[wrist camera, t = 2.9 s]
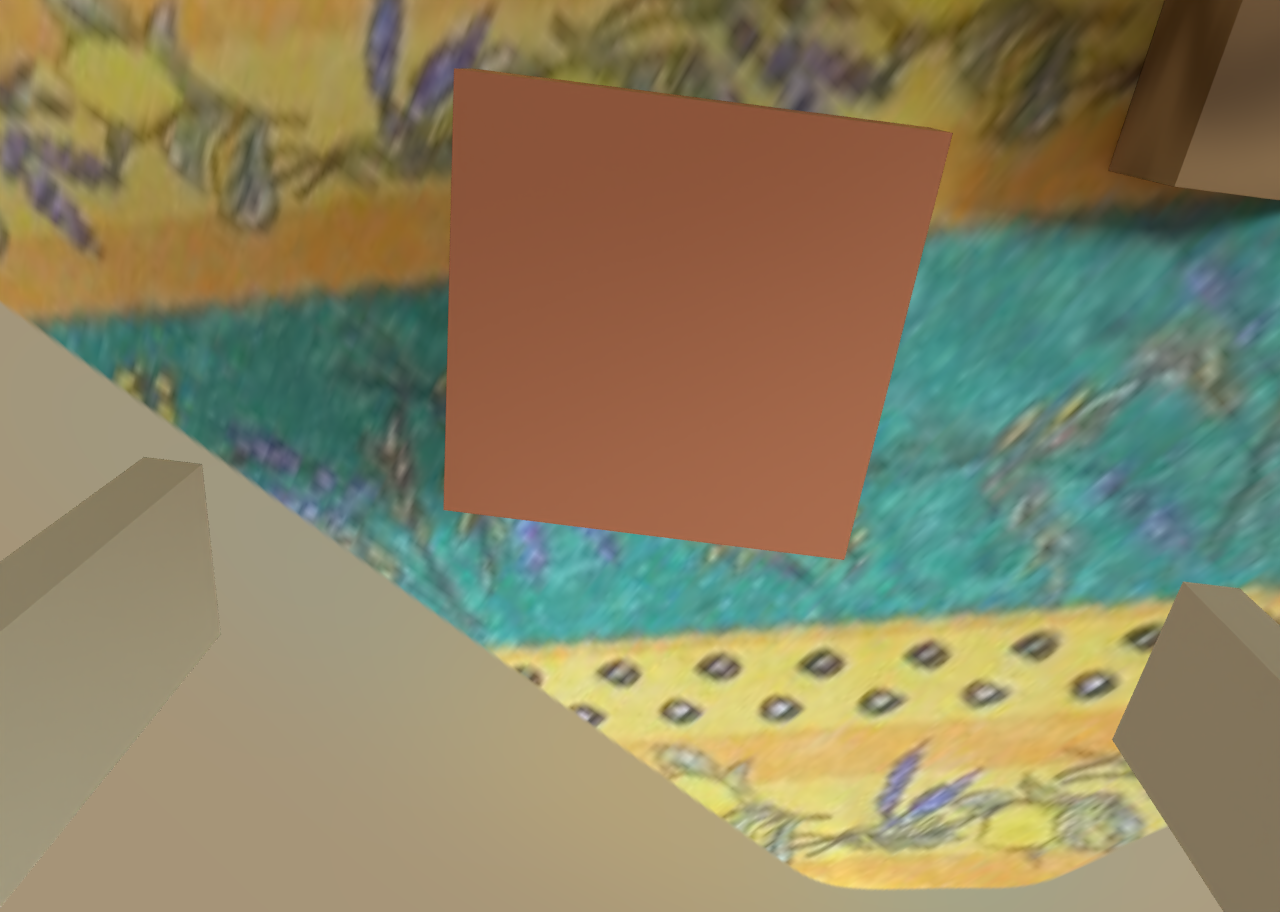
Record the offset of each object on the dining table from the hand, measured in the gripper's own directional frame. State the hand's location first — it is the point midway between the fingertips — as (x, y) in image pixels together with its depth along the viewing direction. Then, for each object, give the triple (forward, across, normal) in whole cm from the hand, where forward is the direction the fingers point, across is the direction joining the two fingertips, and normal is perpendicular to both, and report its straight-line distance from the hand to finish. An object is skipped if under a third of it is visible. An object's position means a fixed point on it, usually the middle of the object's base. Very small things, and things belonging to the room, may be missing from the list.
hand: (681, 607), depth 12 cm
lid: (+15, 0, 0) cm, 15 cm away
